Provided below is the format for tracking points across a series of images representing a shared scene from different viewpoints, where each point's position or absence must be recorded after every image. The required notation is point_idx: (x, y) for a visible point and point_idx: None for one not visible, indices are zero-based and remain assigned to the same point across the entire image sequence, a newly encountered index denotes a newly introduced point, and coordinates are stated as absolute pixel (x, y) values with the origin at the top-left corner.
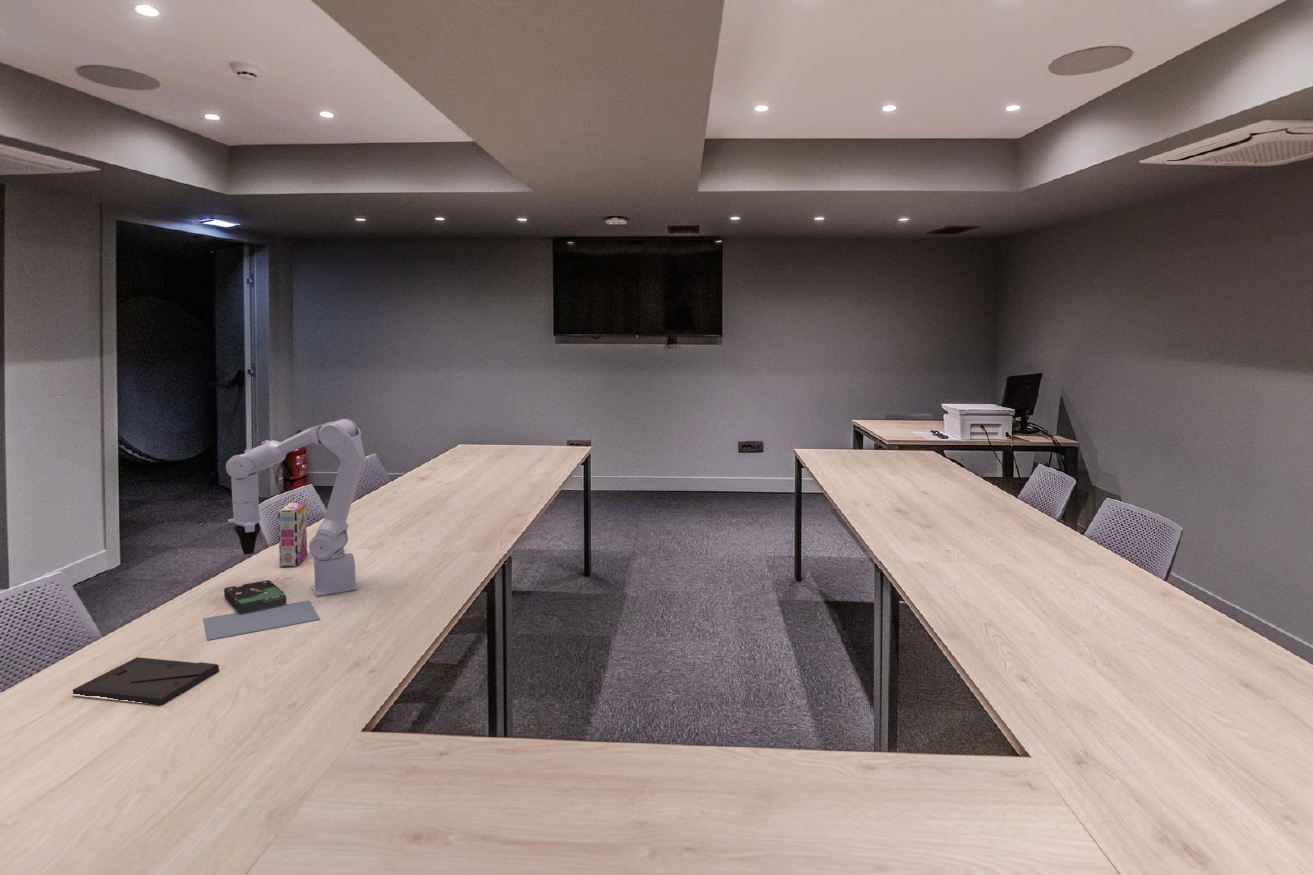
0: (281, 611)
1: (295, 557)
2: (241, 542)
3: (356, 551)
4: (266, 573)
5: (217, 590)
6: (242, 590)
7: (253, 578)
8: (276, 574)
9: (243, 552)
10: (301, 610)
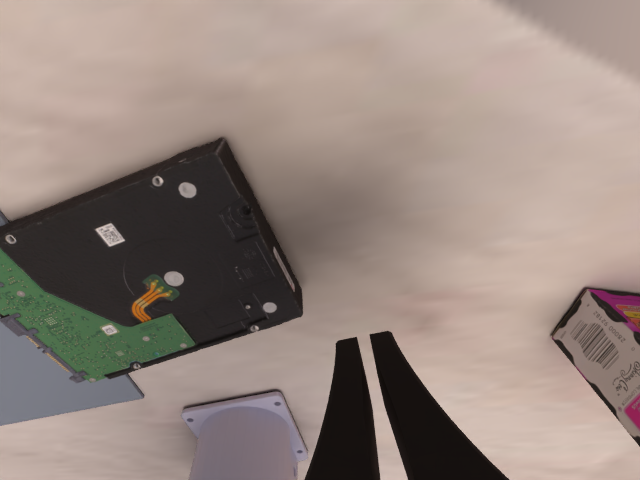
0: (29, 349)
1: (578, 364)
2: (318, 444)
3: (607, 444)
4: (538, 251)
5: (375, 75)
6: (153, 245)
7: (494, 212)
8: (499, 285)
9: (337, 353)
10: (42, 391)
